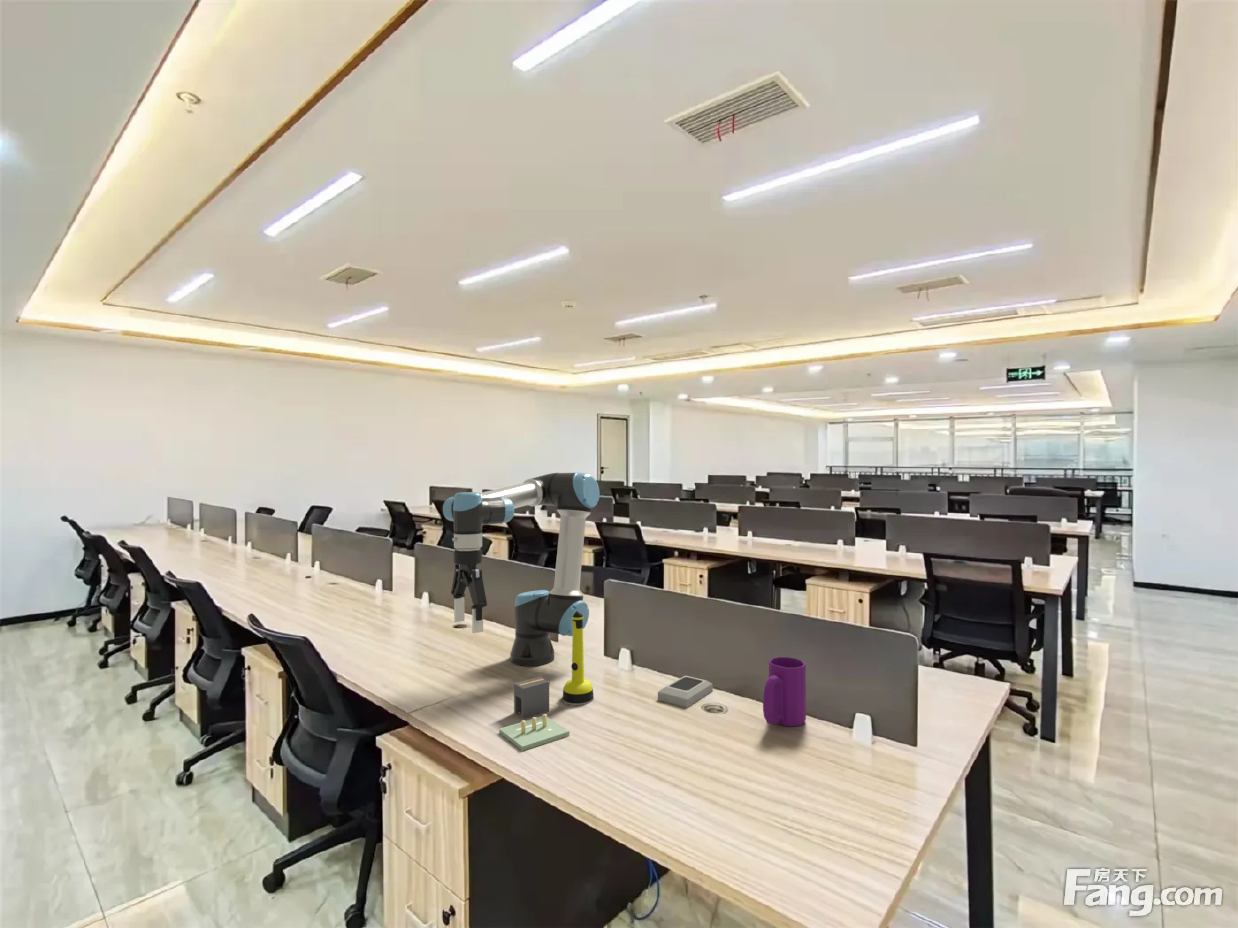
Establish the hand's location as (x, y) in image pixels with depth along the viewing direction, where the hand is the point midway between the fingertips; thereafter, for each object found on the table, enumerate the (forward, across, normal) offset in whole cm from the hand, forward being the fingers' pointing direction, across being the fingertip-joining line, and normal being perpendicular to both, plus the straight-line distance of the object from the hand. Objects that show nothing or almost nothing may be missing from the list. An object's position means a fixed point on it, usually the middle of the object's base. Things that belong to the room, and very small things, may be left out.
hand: (468, 626), depth 162 cm
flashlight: (+23, +11, +28) cm, 38 cm away
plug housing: (+23, +12, +13) cm, 29 cm away
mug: (+23, +56, +62) cm, 86 cm away
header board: (+23, +24, +8) cm, 34 cm away
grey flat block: (+23, +27, +55) cm, 66 cm away
